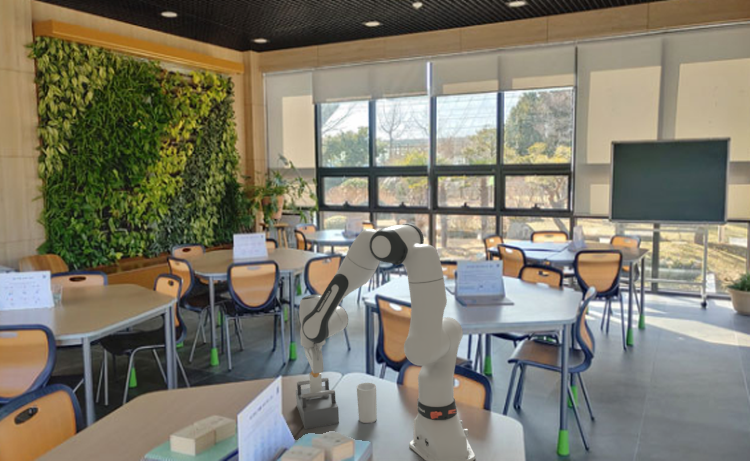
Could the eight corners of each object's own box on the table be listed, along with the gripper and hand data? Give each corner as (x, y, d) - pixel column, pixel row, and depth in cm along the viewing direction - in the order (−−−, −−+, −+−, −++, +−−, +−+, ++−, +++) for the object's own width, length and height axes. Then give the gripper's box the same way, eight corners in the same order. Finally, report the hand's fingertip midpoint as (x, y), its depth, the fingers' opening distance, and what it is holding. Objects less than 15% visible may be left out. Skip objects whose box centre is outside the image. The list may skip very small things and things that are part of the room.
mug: (375, 424, 194) (373, 390, 193) (356, 423, 196) (354, 390, 194) (380, 411, 204) (379, 379, 203) (362, 410, 206) (361, 378, 204)
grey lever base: (339, 423, 196) (337, 393, 195) (304, 429, 193) (302, 399, 192) (328, 400, 215) (326, 373, 214) (296, 405, 212) (295, 378, 211)
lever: (322, 398, 203) (322, 370, 200) (310, 400, 201) (309, 372, 198) (321, 394, 205) (320, 366, 202) (309, 395, 204) (308, 368, 201)
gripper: (326, 347, 193) (328, 385, 195) (317, 330, 212) (318, 365, 214) (308, 349, 191) (310, 388, 193) (300, 331, 211) (302, 367, 213)
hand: (314, 376), depth 204 cm, fingers closed
